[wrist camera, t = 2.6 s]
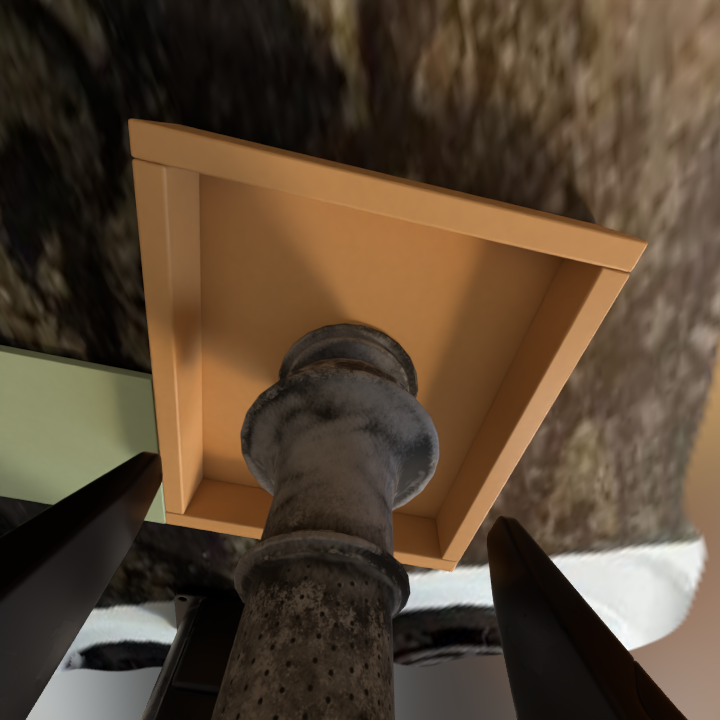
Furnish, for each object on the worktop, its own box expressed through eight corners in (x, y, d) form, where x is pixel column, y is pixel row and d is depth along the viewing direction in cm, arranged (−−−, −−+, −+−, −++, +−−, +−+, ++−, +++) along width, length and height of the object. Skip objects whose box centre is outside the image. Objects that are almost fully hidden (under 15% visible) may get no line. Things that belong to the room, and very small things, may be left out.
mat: (168, 517, 19) (165, 524, 19) (-12, 486, 18) (-20, 493, 18) (156, 374, 14) (151, 380, 14) (-83, 328, 14) (-95, 332, 14)
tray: (444, 524, 18) (452, 572, 16) (190, 479, 17) (165, 524, 15) (599, 224, 11) (650, 242, 9) (177, 124, 10) (125, 117, 8)
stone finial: (238, 361, 14) (-228, 1066, 3) (376, 284, 12) (362, 1268, 1) (326, 463, 16) (227, 1051, 6) (451, 411, 14) (649, 1121, 4)
